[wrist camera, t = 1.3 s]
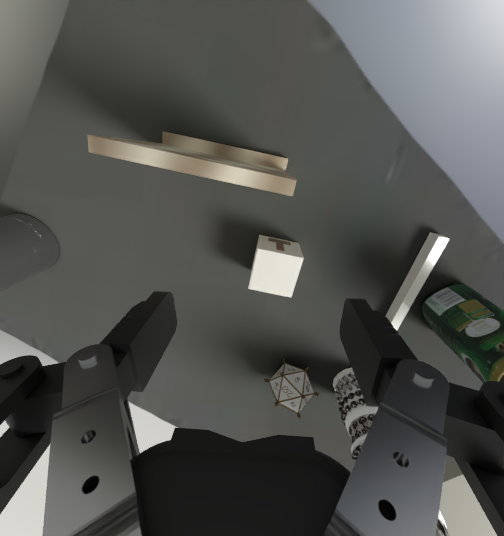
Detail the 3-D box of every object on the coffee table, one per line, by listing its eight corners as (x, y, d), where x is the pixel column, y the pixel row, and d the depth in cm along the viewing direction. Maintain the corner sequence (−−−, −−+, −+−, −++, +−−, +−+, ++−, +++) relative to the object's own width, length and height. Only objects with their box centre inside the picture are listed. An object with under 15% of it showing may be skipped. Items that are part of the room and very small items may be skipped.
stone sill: (390, 323, 41) (396, 331, 39) (382, 321, 41) (387, 329, 39) (440, 234, 34) (449, 238, 33) (430, 232, 34) (438, 236, 32)
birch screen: (287, 158, 32) (301, 160, 18) (280, 190, 33) (287, 213, 20) (165, 131, 31) (85, 112, 18) (164, 165, 33) (90, 171, 19)
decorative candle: (324, 394, 49) (372, 598, 27) (339, 361, 45) (410, 567, 23) (368, 402, 49) (453, 612, 27) (387, 370, 45) (505, 583, 23)
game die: (278, 356, 51) (246, 386, 44) (305, 343, 45) (273, 375, 38) (304, 396, 49) (275, 433, 42) (336, 387, 43) (308, 429, 36)
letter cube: (288, 277, 39) (291, 297, 33) (251, 270, 39) (248, 288, 33) (298, 241, 36) (304, 257, 31) (259, 233, 36) (257, 247, 31)
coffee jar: (485, 316, 39) (647, 436, 23) (435, 338, 42) (548, 461, 25) (463, 273, 37) (630, 373, 20) (411, 299, 39) (520, 409, 22)
